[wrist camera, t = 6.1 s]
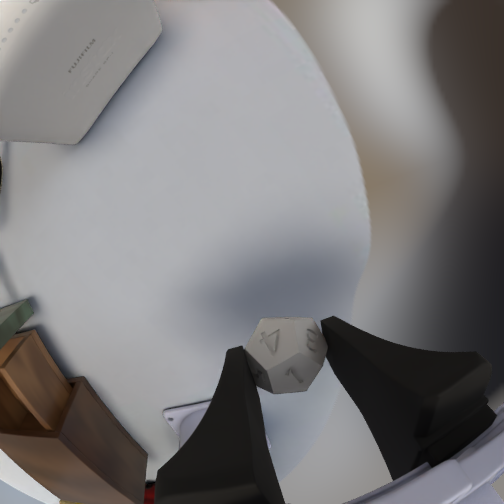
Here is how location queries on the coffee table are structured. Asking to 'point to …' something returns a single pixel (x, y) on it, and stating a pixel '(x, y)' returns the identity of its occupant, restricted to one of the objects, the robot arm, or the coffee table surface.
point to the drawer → (28, 376)
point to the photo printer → (67, 63)
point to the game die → (286, 354)
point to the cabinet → (82, 453)
